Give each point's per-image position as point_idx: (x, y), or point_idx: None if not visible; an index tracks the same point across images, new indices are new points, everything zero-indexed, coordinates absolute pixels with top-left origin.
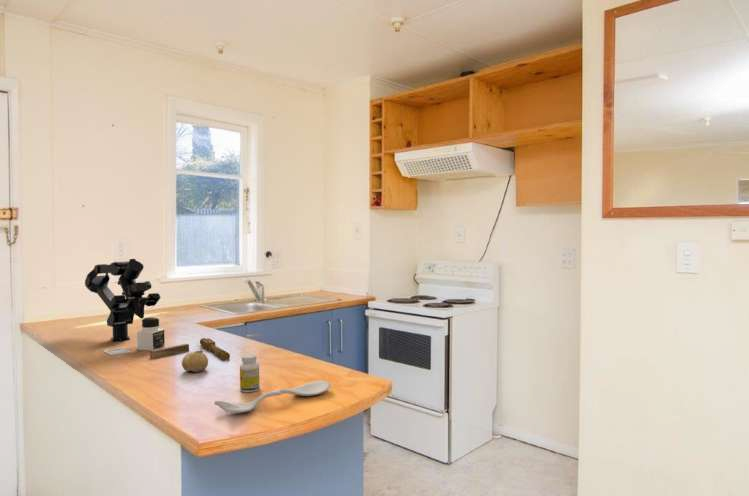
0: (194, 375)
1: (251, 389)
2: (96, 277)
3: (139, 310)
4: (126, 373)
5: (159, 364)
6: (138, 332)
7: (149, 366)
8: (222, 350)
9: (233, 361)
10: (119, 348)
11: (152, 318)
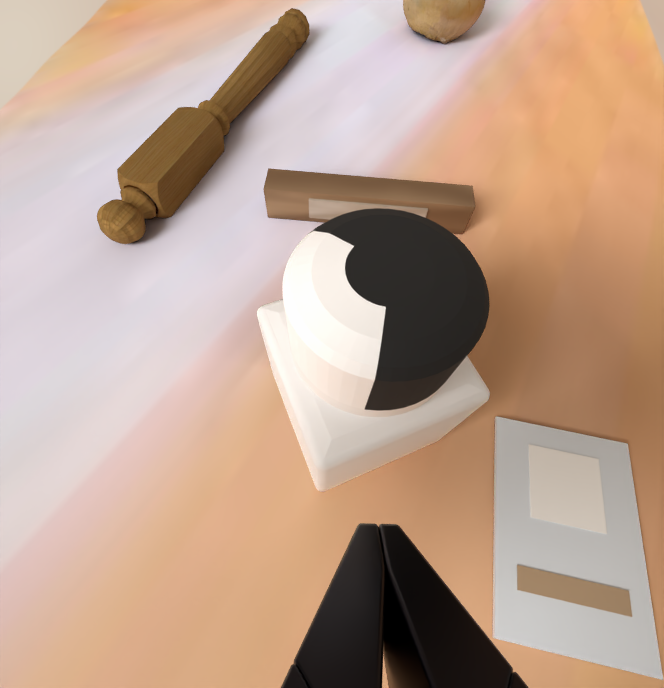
0: None
1: None
2: None
3: (451, 642)
4: (617, 132)
5: (482, 135)
6: (481, 380)
7: (522, 140)
8: (275, 30)
9: None
10: (526, 611)
11: (392, 226)
